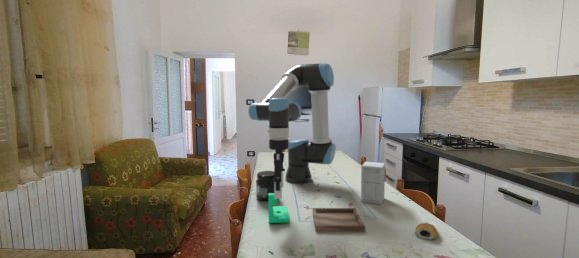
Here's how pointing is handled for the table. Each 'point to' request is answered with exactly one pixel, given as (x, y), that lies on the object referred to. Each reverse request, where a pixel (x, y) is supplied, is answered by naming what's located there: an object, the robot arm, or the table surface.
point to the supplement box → (372, 182)
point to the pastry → (426, 231)
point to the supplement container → (264, 185)
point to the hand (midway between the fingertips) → (279, 192)
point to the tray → (337, 220)
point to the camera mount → (277, 211)
